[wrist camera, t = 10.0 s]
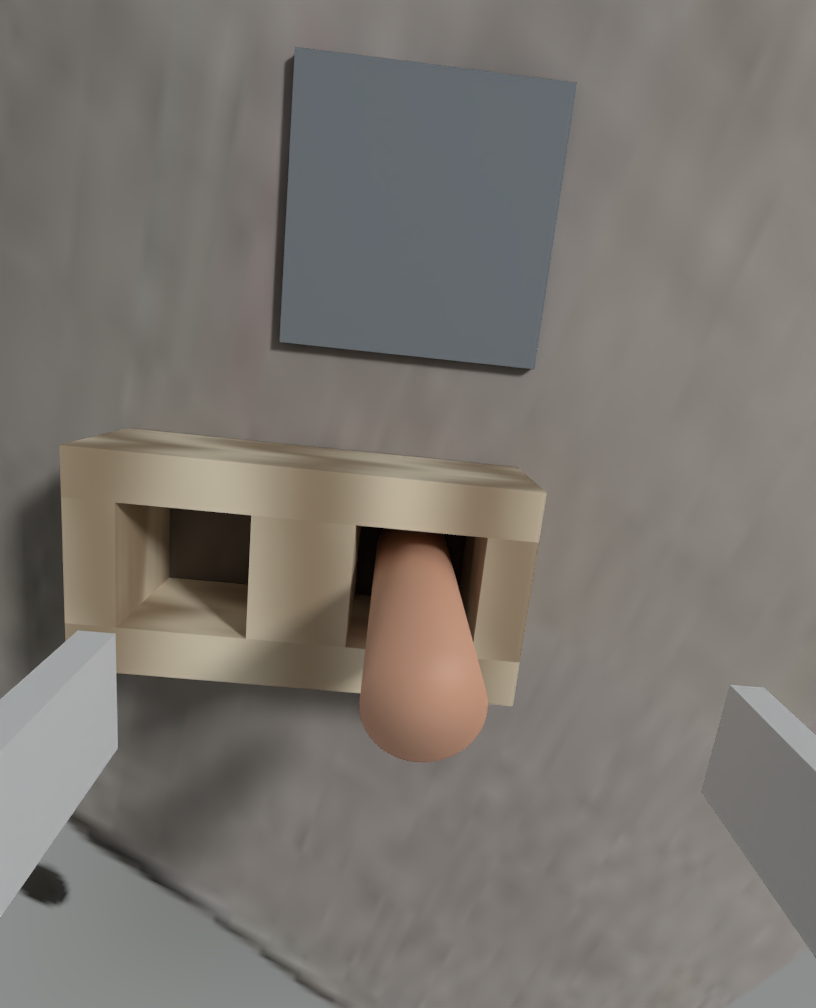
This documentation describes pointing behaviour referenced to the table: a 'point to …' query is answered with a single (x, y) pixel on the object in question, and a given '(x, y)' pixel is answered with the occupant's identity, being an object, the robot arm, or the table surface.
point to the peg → (419, 653)
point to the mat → (421, 207)
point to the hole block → (281, 554)
